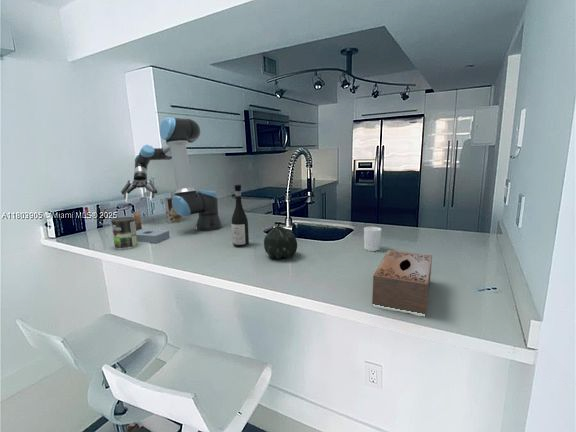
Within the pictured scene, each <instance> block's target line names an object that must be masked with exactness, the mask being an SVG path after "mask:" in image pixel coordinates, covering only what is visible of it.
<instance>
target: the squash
mask: <svg viewBox="0 0 576 432" xmlns="http://www.w3.org/2000/svg"><path fill="white" fill-rule="evenodd" d="M263 246H264V251H265V253H267V255H268V256H269V257H270V258H271V259H278V260H281V259H289V258H290V257H292V256H294V255H295V254H296V252H297V249H298V242H297V238H296V235H295V234H294V233H293V232H292V231H290V230H289V229H287V228H285V227H283V226H280V225H276V226H274V227H273V228H272V229H271V230H269V232H268V233H267V234H266V235H265V237H264V239H263ZM289 256H290V257H289Z"/></svg>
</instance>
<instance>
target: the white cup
mask: <svg viewBox="0 0 576 432" xmlns="http://www.w3.org/2000/svg"><path fill="white" fill-rule="evenodd" d="M381 239H382V228H381V227H377V226H365V227H363V245H364V246H363V247H364V248H365V249H368V250H378V249H379V250H380V247H381V246H380V245H381V241H382V240H381ZM365 249H364V250H365Z"/></svg>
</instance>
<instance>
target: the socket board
mask: <svg viewBox="0 0 576 432" xmlns="http://www.w3.org/2000/svg"><path fill="white" fill-rule="evenodd" d="M136 238H137V243H149V244H159V243H161V242H164V241H166V240H168V239H170V230H164V229H163V230H162V229H161V230H160V229H144V228H142V229H140V230H137V231H136Z"/></svg>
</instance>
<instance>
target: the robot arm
mask: <svg viewBox="0 0 576 432" xmlns="http://www.w3.org/2000/svg"><path fill="white" fill-rule="evenodd" d="M159 135H160V137H161V139H162V140H164V141H165V144H166V145H164V146H163V147H161V148H160V147H159V148H155V147H153V146H152V145H149V144H145V145H142V147H141V148H140V150H139V153H138V154H137V155H136V156H135V157H134V158H135V159H134V170H133V181H131V180H127V182H126V184H125V185H124V187H123V188H122V189H121V191H120V193H121V195H123V198H124V200H125V201H124V202H125V203H126V204H125V205H128V204H129V194H130V193H132V192H133V191H134V190H135V189H139V188H145V189H146V190H147V191H148V192H149V193H150V195H149V202H150V204H153V198H155V194H158V189H157V188H156V187H155V185H154V184H153V181H152V179H149V180H148V166H149V164H150V161H164V160H165V161H168V160H171V162H172V167H173V173H174V179H175V186H176V191H175V192H174V196H173V197H171V198H172V206H173V208H174V210H175V212H176V213H177V214H178V215H180V216H183V217H184V216H190V215H191V216H192V215H194V214H198V218H197V222H196V230H197V231H198V230H199V231H203V232H204V231H207V232H209V231H215V230H219V229H221V228H223V223H222V220H221V218H220V216H219V207H218V206H219V205H218V203H219V201H218V193H217V192H216V191H215V190H205V189H204V190H203V189H200V190H199V189H198V190H197V189H195V188H194V187H193V180H192V175H191V174H192V173H191V168H190V163H189V162H190V161H189V156H188V150H187V146H188V145H189V144H190V143H191V144H192V143H194V142H196V141H197V140H198V139H199V138H200V135H201V127H200V125H199V124H198V123H197V122H196V121H195V120H193V119H190V118H181V117H179V118H178V117H166V118H165V117H164V118H163V120H162V121H161V123H160V125H159ZM148 184H149V185H150V186H149V185H148Z"/></svg>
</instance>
